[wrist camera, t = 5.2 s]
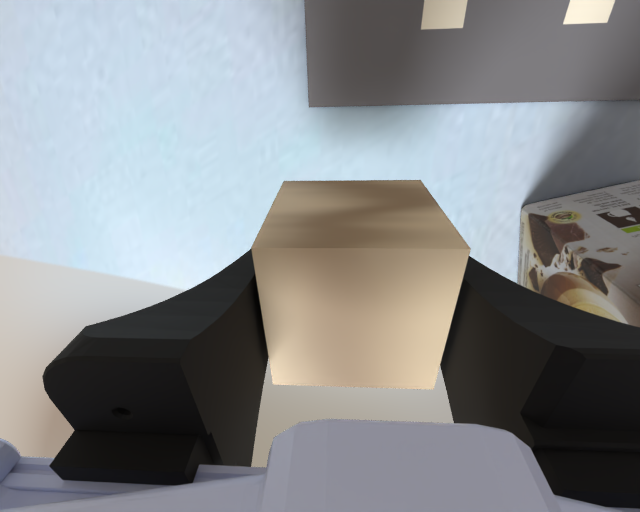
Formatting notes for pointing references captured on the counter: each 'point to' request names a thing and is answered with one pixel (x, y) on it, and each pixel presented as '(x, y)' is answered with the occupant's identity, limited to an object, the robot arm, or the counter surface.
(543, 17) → the letter mat
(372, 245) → the oak block
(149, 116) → the counter surface
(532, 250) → the coffee box
